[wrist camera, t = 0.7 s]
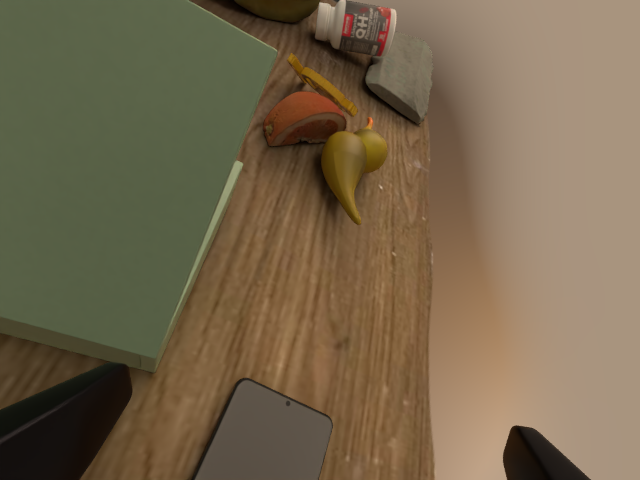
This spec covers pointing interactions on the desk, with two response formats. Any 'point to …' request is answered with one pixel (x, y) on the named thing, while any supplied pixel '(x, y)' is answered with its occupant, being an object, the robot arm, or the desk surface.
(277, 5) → the fruit
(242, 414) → the smartphone
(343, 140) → the yellow tapered piece
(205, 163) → the cover
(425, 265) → the desk surface
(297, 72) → the logo
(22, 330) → the case
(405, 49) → the stone slab
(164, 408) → the desk surface
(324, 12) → the pill bottle
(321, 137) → the fruit slice
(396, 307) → the desk surface
